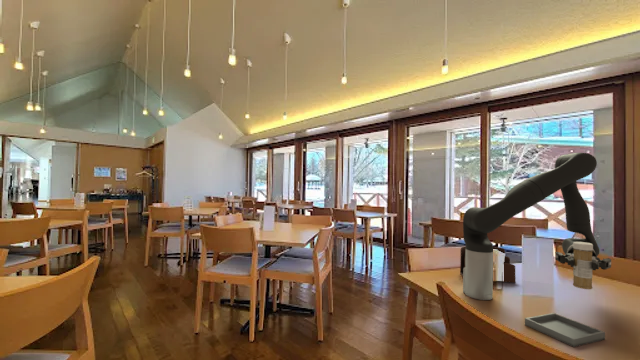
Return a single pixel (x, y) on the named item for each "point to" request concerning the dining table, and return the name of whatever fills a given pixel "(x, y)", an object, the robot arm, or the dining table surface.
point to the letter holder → (508, 268)
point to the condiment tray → (565, 329)
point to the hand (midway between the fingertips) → (583, 265)
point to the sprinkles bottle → (582, 265)
